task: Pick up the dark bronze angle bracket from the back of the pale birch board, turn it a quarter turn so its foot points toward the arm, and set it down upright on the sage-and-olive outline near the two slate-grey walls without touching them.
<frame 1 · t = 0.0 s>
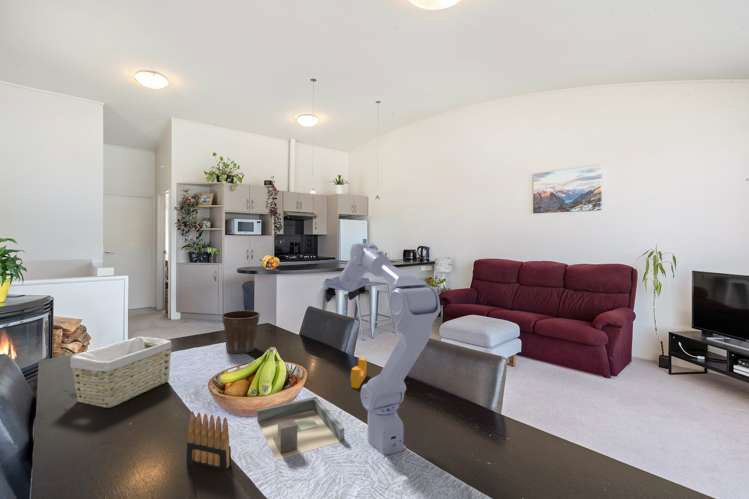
hand: (338, 298, 116), 32 cm above the table, tool tilted 50°, fingers open, 7 cm apart
ammunition clip: (208, 467, 83), on the table
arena: (298, 433, 97), on the table
pipe clamp: (356, 382, 132), on the table
plant pot: (241, 350, 165), on the table
bracket: (287, 449, 88), point 1 cm above the table, touching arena
storage basket: (125, 392, 121), on the table
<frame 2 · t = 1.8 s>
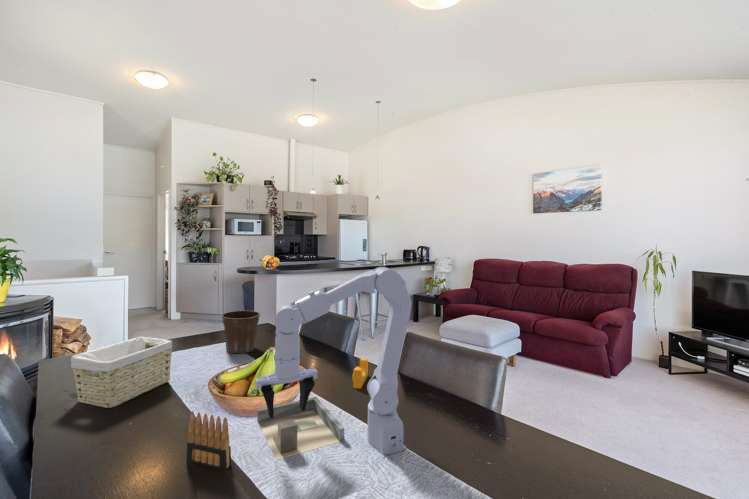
hand: (287, 412, 88), 9 cm above the table, tool pointing down, fingers open, 7 cm apart
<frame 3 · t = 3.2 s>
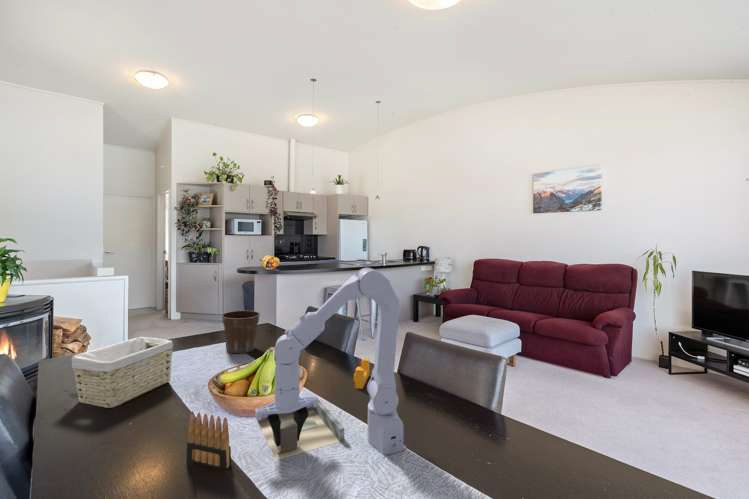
hand: (286, 441, 89), 2 cm above the table, tool pointing down, fingers closed on bracket, 4 cm apart
bracket: (287, 449, 88), point 1 cm above the table, touching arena, gripper
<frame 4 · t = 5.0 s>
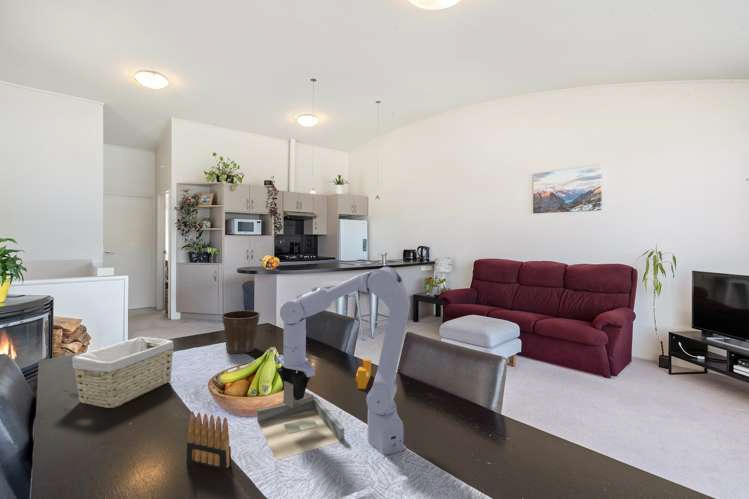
hand: (294, 396, 98), 9 cm above the table, tool pointing down, fingers closed on bracket, 4 cm apart
bracket: (291, 404, 97), point 8 cm above the table, touching gripper
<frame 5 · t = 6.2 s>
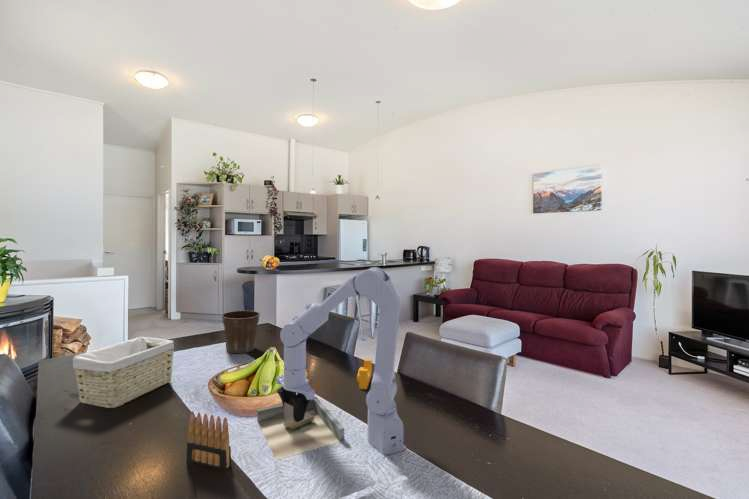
hand: (294, 417, 98), 3 cm above the table, tool pointing down, fingers closed on bracket, 4 cm apart
bracket: (292, 425, 98), point 2 cm above the table, touching gripper
when the fingers open (3 cm above the table, at t = 7.0 s): bracket stays where it is, resting on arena.
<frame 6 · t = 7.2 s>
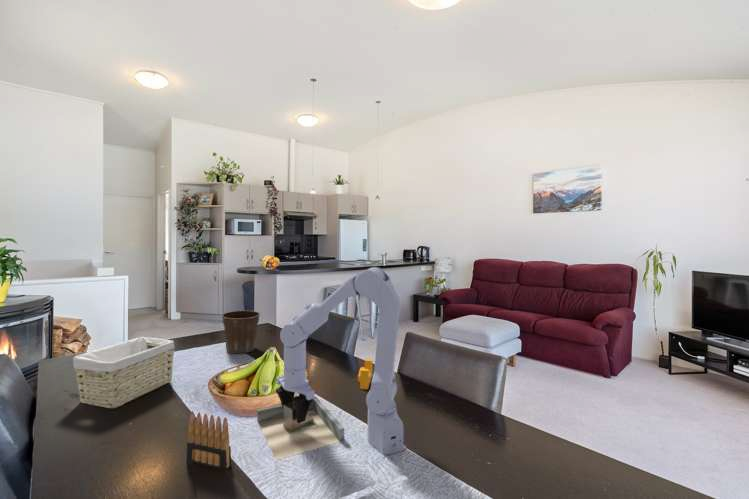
hand: (294, 417, 98), 3 cm above the table, tool pointing down, fingers open, 5 cm apart
bracket: (291, 427, 98), point 1 cm above the table, touching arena
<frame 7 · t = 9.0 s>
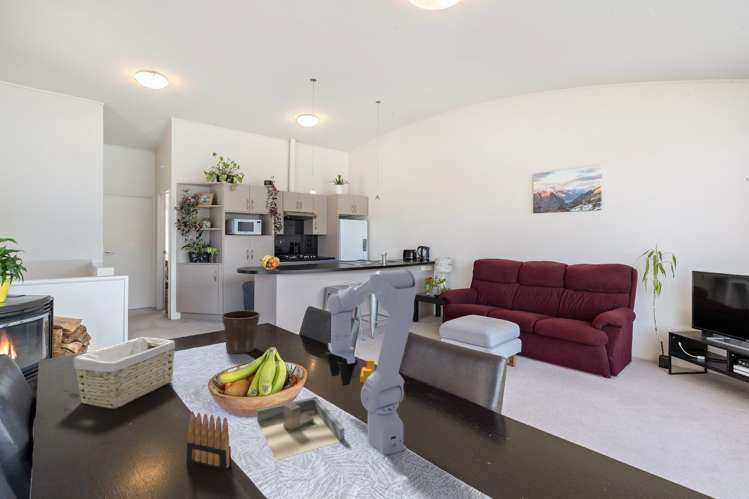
hand: (340, 380, 109), 9 cm above the table, tool pointing down, fingers open, 7 cm apart
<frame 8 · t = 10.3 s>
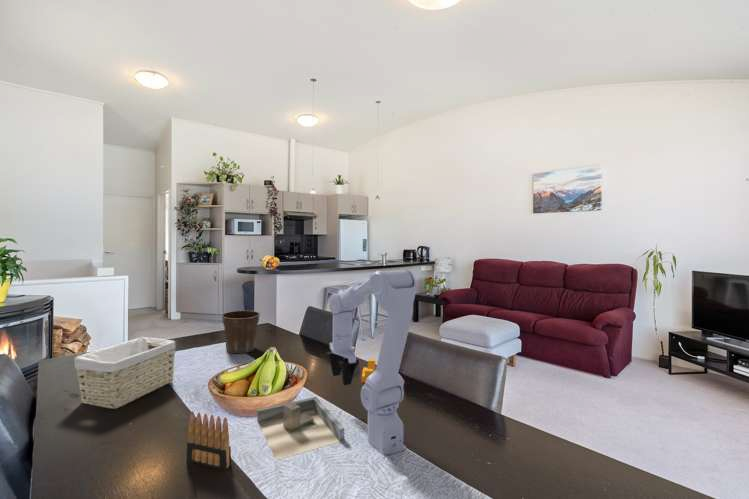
hand: (341, 379, 109), 9 cm above the table, tool pointing down, fingers open, 7 cm apart
at the end: bracket 0.4 cm from the target spot, point 0.9 cm above the table; bracket tilted 0°; the gripper is holding nothing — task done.
